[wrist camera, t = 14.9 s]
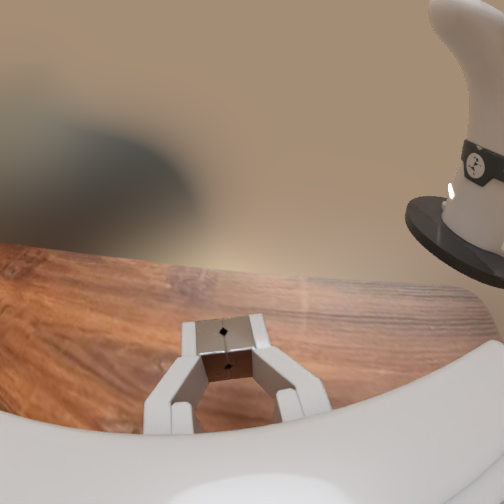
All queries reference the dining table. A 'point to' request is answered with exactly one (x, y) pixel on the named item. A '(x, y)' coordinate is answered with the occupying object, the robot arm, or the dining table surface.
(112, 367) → the dining table surface
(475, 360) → the robot arm
